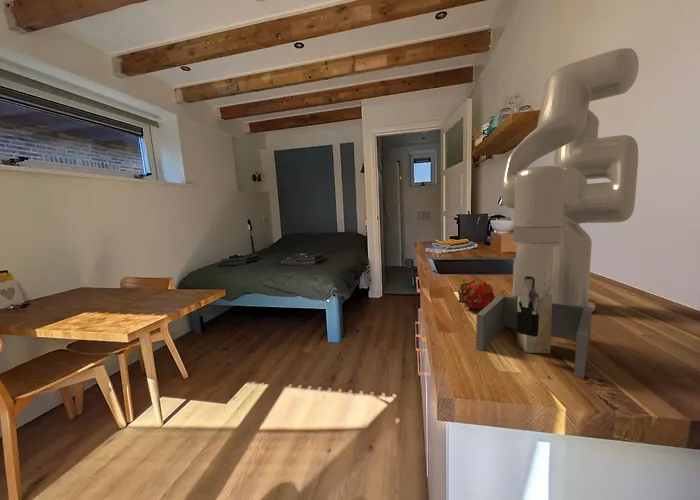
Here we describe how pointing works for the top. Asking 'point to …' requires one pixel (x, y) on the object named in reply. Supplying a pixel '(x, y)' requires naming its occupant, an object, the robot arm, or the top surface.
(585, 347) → the u-shaped wall
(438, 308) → the top surface
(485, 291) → the dragon fruit
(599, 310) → the top surface
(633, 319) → the top surface
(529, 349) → the box
